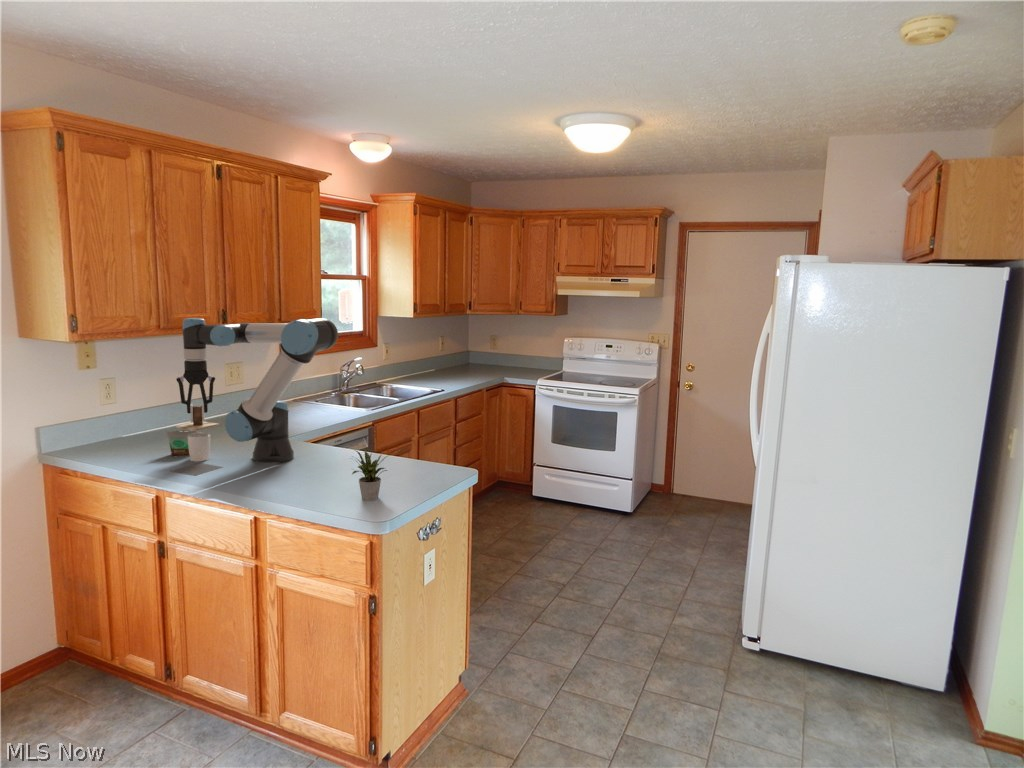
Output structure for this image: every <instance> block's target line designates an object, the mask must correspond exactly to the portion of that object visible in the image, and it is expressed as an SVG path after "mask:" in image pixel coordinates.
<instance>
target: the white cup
mask: <svg viewBox="0 0 1024 768" xmlns="http://www.w3.org/2000/svg"><path fill="white" fill-rule="evenodd" d="M187 438H188V449H189V454H190V455H189V461H191V462H204V461H207V460H210V453H211V433H210V432H209V433H208V432H201V433H193V434H189V435H187Z"/></svg>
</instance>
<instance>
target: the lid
mask: <svg viewBox="0 0 1024 768" xmlns="http://www.w3.org/2000/svg"><path fill="white" fill-rule="evenodd" d="M219 426H220V423H217V422H210V421H205V422H202V405H193V422H191V421H190V422H186V423H182V424H179V425H176V426H175V427H176V428H177V429H181V430H186V431H200V432H201V431H204V430H207V429H208V430H209V429H210V428H211V429H213V428H215V427H219Z"/></svg>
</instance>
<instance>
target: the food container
mask: <svg viewBox="0 0 1024 768" xmlns="http://www.w3.org/2000/svg"><path fill="white" fill-rule="evenodd" d="M193 433H202V432H201V430H200V431H193V430H187V429H181V430H177V431H170V430H166V437H167V438H168V441H169V449H170V455H171V454H172V455H173V456H172V455H171V456H172V457H174V456H177V457H180V456H182V457H183V456H190V454H189V449H188V438H187V435H189V434H193Z"/></svg>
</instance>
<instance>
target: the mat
mask: <svg viewBox="0 0 1024 768" xmlns="http://www.w3.org/2000/svg"><path fill="white" fill-rule="evenodd" d="M223 468H224V466H220V465H219V466H218V465H214V464H208V463H202V462H196V463H192V464H189V465H186V466H182V467H178V468H175V469H171V470H170V472H172V473H177V474H182V475H183V474H184V475H189V476H194V477H197V476H199V475H203V474H206V473H209V472H213V471H216V470H219V469H223Z"/></svg>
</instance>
